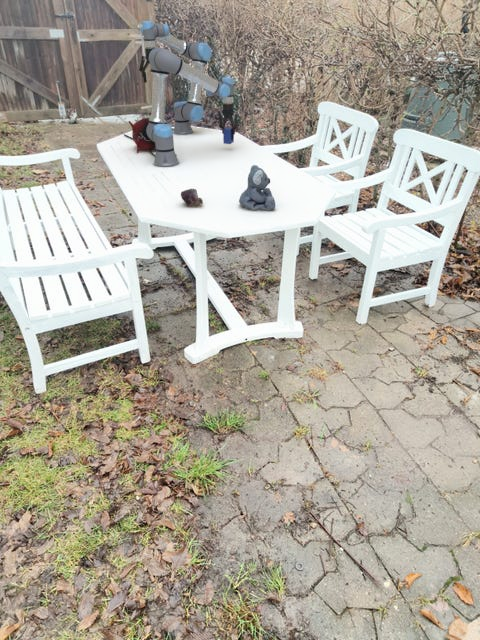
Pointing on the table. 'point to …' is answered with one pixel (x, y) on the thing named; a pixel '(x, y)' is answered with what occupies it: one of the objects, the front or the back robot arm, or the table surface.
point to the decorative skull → (142, 135)
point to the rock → (191, 197)
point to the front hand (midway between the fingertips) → (228, 138)
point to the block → (227, 135)
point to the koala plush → (257, 191)
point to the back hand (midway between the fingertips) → (154, 82)
